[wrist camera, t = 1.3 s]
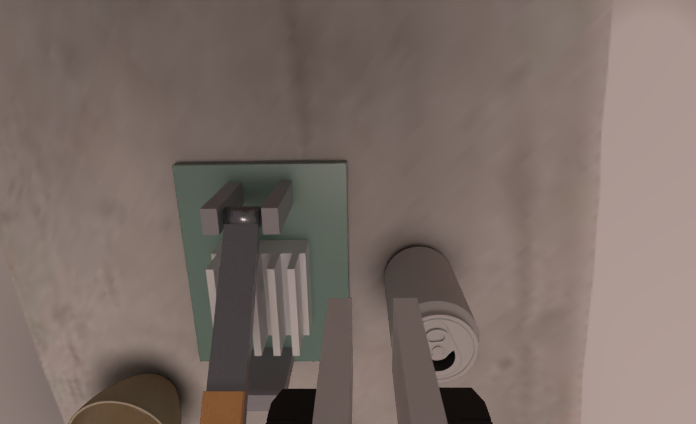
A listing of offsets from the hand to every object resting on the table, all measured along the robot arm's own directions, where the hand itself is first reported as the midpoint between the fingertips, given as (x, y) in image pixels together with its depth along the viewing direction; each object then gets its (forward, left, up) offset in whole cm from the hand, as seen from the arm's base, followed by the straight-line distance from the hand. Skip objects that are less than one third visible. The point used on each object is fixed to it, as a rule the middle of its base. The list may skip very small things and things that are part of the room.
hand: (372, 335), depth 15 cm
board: (+10, -9, -26) cm, 30 cm away
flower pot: (+25, -22, -27) cm, 43 cm away
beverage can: (+11, +5, -27) cm, 29 cm away
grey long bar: (+8, -9, -15) cm, 19 cm away
